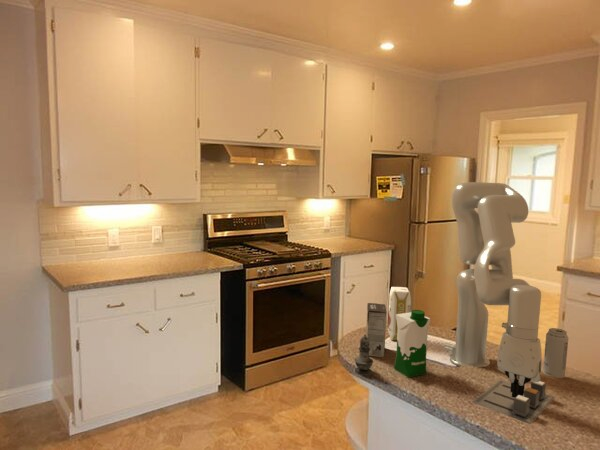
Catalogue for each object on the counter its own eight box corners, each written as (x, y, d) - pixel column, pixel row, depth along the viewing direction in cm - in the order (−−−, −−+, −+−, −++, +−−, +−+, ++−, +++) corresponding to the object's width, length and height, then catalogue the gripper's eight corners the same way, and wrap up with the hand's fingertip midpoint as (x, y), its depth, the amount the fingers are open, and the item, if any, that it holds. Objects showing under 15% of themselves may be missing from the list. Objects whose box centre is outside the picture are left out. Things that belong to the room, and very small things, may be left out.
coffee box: (365, 346, 163) (367, 302, 162) (383, 347, 163) (385, 303, 161) (365, 355, 154) (367, 310, 153) (384, 357, 154) (386, 311, 152)
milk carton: (408, 379, 137) (411, 315, 135) (389, 367, 145) (392, 307, 143) (430, 374, 141) (434, 312, 139) (411, 363, 149) (414, 304, 147)
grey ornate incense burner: (350, 368, 144) (352, 332, 142) (366, 366, 146) (368, 330, 145) (360, 376, 138) (361, 338, 137) (376, 373, 141) (378, 336, 139)
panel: (471, 406, 122) (471, 401, 122) (499, 383, 136) (500, 379, 136) (530, 428, 112) (530, 424, 112) (554, 401, 126) (555, 397, 126)
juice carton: (406, 334, 177) (408, 286, 174) (409, 342, 168) (412, 292, 166) (386, 333, 177) (389, 285, 175) (389, 341, 169) (391, 291, 167)
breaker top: (529, 395, 125) (530, 382, 125) (533, 391, 128) (535, 378, 128) (541, 399, 123) (542, 386, 123) (545, 395, 126) (546, 382, 126)
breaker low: (512, 412, 116) (513, 398, 116) (517, 407, 119) (518, 393, 118) (524, 417, 114) (526, 402, 114) (529, 411, 117) (530, 397, 116)
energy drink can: (543, 371, 146) (547, 326, 144) (564, 375, 143) (569, 329, 141) (542, 378, 140) (546, 331, 139) (564, 383, 137) (568, 335, 136)
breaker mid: (522, 404, 121) (523, 390, 120) (527, 399, 123) (528, 386, 123) (534, 408, 119) (535, 394, 118) (539, 403, 121) (540, 389, 121)
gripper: (488, 327, 124) (483, 391, 126) (548, 342, 113) (541, 412, 115) (499, 321, 129) (494, 382, 131) (557, 335, 119) (551, 402, 121)
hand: (516, 396), depth 123 cm, fingers closed
